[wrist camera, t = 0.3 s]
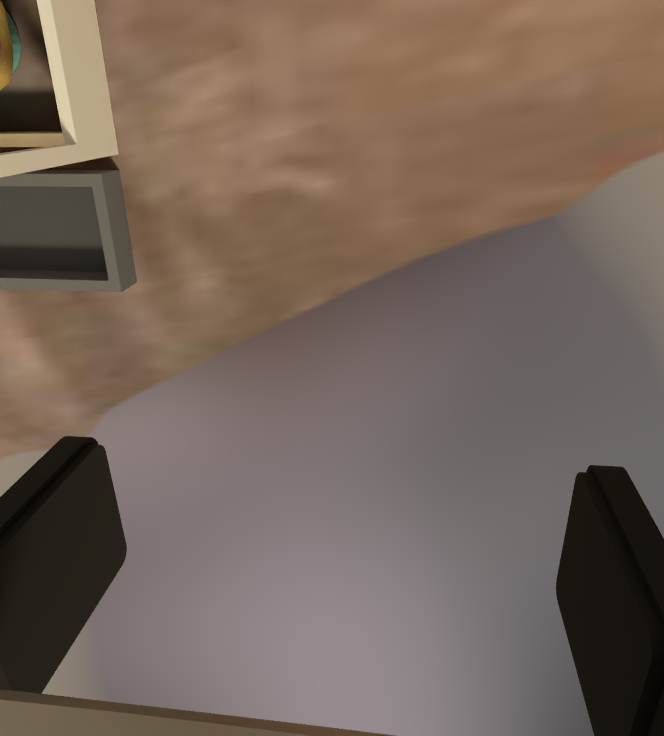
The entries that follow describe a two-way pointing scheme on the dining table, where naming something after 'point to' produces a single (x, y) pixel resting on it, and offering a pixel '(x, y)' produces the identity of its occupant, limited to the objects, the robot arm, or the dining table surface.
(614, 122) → the dining table surface
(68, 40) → the white open frame box
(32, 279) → the grey shallow rectangular tray
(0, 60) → the cupcake
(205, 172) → the dining table surface
